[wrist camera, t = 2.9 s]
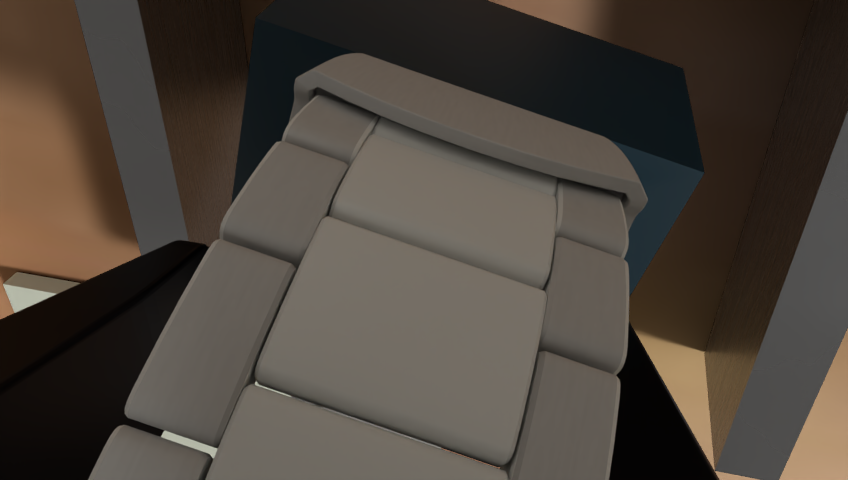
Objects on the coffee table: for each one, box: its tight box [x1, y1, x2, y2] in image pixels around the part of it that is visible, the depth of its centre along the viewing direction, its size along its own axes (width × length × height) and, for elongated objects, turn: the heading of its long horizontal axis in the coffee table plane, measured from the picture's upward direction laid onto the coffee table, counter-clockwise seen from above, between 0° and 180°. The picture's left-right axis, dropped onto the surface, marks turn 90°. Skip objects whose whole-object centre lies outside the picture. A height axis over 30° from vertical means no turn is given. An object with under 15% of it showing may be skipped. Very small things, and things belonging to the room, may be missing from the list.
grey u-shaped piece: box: [74, 0, 848, 480], centre depth 14 cm, size 13×13×4 cm
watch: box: [88, 0, 705, 480], centre depth 8 cm, size 6×8×11 cm
